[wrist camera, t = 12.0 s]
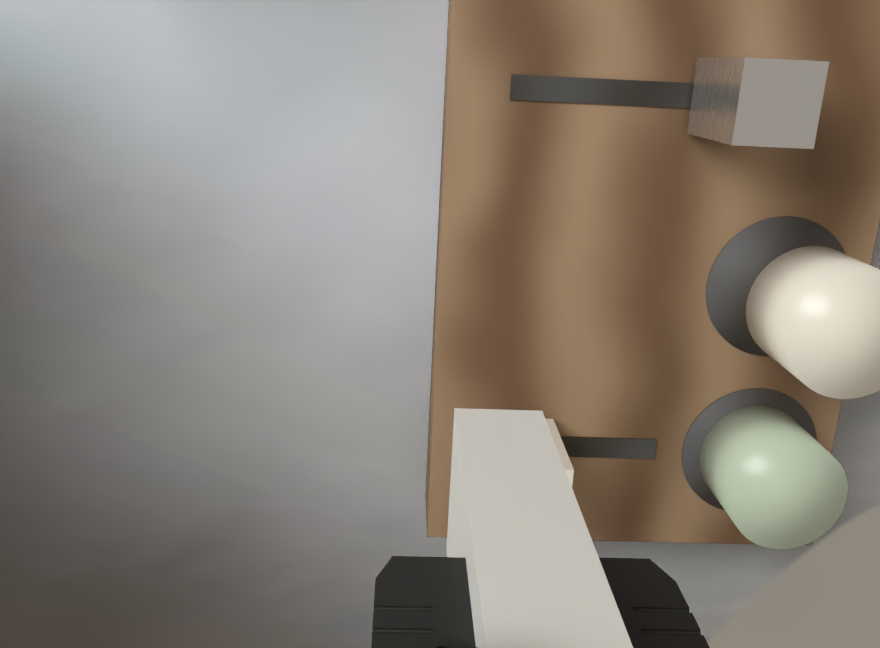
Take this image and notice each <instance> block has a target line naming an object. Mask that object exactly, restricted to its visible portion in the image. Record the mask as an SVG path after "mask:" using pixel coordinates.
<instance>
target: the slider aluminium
mask: <svg viewBox="0 0 880 648" xmlns="http://www.w3.org/2000/svg"><path fill="white" fill-rule="evenodd" d="M828 67H829V62H828V61H809V60H789V59H770V58H750V57H700V58H697V63H696V71H695V78H694V85H693V93H692V100H691V108H690V115H689V123H688V130H687V134H691V135H695V136H698V137H702V138H706V139H710V140H714V141H717V142H721V143H725V144H729V145H735V146H757V147H779V148H801V149H814V145H815V139H816V134H817V128H818V122H819V117H820V111H821V106H822V100H823V94H824V89H825V83H826V78H827V72H828Z"/></svg>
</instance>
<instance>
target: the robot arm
mask: <svg viewBox="0 0 880 648" xmlns="http://www.w3.org/2000/svg"><path fill="white" fill-rule="evenodd" d="M446 550H447V557H407V556H392V557H391V559H390V560H389V561H388V563H387V564H386V565H385V567H384V568H383V569H382V571H381V572H380V573H379V575H378V576H377V578H376V582H375V598H374V614H373V632H372V646H371V648H709V646H708V644H707V642H706V640H705V638H704V636H703V635H701V634H700V628H699V626H698V624H697V622H696V620H695V618H694V616H693V614H692V613H689V607H688V605H687V603H686V601H685V599H684V597H683V595H682V593H681V591H680V589H679V587H678V585H677V583H676V581H674V580H673V579H672V578H671V577H670V576H669V575H667V574H666V573H665V572H664V571H663V570H662V569H661V568H659V567H658V566H657V565H656V564H655V563H654V562H652V561H651V560H650V559H634V558H599V557H598V554H597V552H596V549H595V547H594V544H593V541H592V539H591V536H590V534H589V531H588V528H587V526H586V523H585V520H584V518H583V515H582V513H581V510H580V507H579V505H578V502H577V500H576V497H575V494H574V492H573V489H572V487H571V484H570V481H569V479H568V476H567V474H566V471H565V468H564V466H563V463H562V460H561V458H560V455H559V453H558V450H557V447H556V445H555V442H554V440H553V437H552V434H551V432H550V429H549V427H548V424H547V421H546V419H545V416H544V414H543V411H535V410H501V409H467V408H454V425H453V443H452V460H451V478H450V495H449V513H448V530H447V548H446Z"/></svg>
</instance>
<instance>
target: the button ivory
mask: <svg viewBox="0 0 880 648" xmlns="http://www.w3.org/2000/svg"><path fill="white" fill-rule="evenodd" d="M746 321H747V326H748V329H749V332H750V334H751V336H752V338H753V340H754V341H755V342H756V344H757V345H758V346H759V347H760V348H761V349H762V350H763V351H764V352H765V353H767V354H768V355H769V356H770V357H772V358H773V359H774V360H775V361H776V362H778V363H779V364H780V365H781V366H783V367H784V368H785V369H786V370H787V371H789V372H790V373H791V374H792V375H794V376H795V377H796V378H797V379H798V380H800V381H801V382H802V383H803V384H805V385H806V386H807V387H808V388H810V389H811V390H813V391H814V392H816V393H818V394H821V395H823V396H826V397H830V398H835V399H854V398H860V397H864V396H867V395H870V394H873V393H875V392H877V391H879V390H880V269H878V268H876V267H873V266H871V265H869V264H867V263H864V262H862V261H860V260H858V259H855V258H853V257H851V256H849V255H846V254H844V253H842V252H840V251H837V250H835V249H832V248H828V247H823V246H806V247H800V248H797V249H793V250H791V251H788V252H786V253H784V254H782V255H780V256H779V257H777V258H776V259H774V260H773V261H772V262H770V263H769V264H768V265H767V266H766V267H765V268H764V269H763V270H762V272H761V273H760V274H759V275H758V277H757V278H756V280H755V281H754V283H753V285H752V287H751V289H750V292H749V295H748V299H747V303H746Z"/></svg>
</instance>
